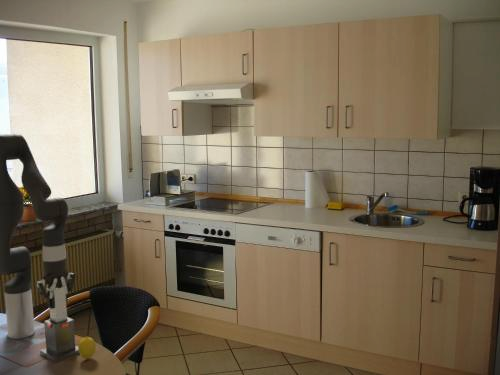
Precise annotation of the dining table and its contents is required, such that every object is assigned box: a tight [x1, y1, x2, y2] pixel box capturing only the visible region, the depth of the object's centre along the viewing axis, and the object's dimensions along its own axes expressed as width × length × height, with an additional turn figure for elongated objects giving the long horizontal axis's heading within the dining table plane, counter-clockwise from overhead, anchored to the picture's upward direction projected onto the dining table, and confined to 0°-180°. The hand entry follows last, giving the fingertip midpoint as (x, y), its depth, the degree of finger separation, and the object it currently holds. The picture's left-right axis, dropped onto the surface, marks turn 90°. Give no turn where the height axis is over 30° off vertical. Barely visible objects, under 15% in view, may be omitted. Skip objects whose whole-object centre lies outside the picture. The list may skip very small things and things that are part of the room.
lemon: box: [78, 336, 97, 360], centre depth 182 cm, size 6×6×8 cm
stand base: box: [39, 316, 80, 363], centre depth 186 cm, size 10×10×12 cm
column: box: [49, 286, 68, 324], centre depth 185 cm, size 4×4×19 cm
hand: (57, 306), depth 185 cm, fingers closed on column, 4 cm apart
